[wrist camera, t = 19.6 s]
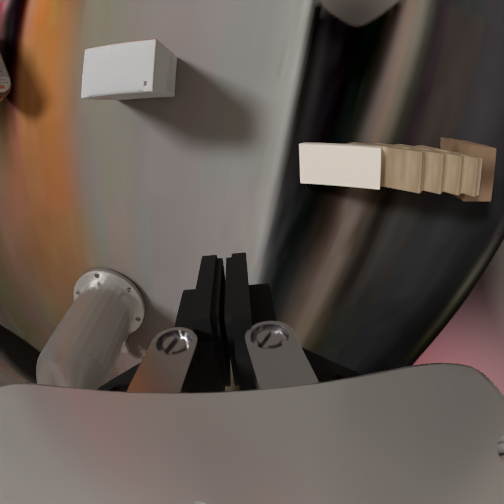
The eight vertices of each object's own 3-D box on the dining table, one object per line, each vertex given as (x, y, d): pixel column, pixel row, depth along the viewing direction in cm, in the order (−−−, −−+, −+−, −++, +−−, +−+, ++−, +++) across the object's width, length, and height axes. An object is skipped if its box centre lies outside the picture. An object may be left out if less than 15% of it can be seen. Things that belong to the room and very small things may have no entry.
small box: (178, 56, 32) (159, 37, 22) (175, 97, 34) (154, 92, 25) (118, 61, 31) (83, 47, 22) (116, 101, 33) (79, 99, 24)
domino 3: (376, 142, 38) (446, 153, 31) (376, 178, 40) (443, 191, 33) (371, 143, 36) (443, 154, 30) (370, 180, 39) (440, 194, 32)
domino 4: (399, 144, 38) (464, 155, 31) (398, 178, 40) (461, 193, 33) (393, 144, 37) (461, 156, 29) (392, 179, 39) (458, 195, 32)
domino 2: (352, 142, 38) (425, 151, 31) (352, 178, 40) (422, 190, 34) (346, 143, 36) (422, 152, 30) (346, 180, 38) (419, 193, 32)
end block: (463, 188, 41) (490, 201, 34) (437, 188, 41) (464, 201, 34) (467, 140, 37) (496, 148, 31) (440, 137, 37) (469, 144, 31)
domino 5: (422, 145, 38) (482, 158, 30) (420, 178, 40) (478, 194, 32) (415, 145, 37) (478, 158, 29) (414, 179, 39) (474, 196, 31)
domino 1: (303, 142, 37) (381, 146, 33) (304, 179, 40) (380, 186, 35) (299, 143, 36) (380, 148, 32) (300, 183, 38) (379, 189, 34)
